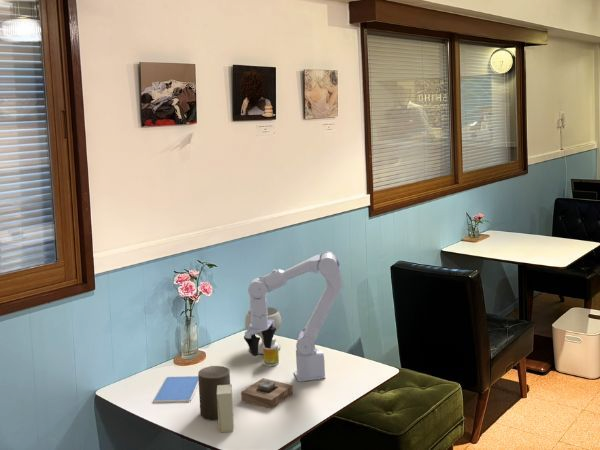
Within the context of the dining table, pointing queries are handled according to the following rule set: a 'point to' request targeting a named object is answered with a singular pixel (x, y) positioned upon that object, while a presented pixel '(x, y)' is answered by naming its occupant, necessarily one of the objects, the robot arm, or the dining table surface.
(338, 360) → the dining table surface
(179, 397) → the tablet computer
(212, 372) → the pillar candle
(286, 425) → the dining table surface
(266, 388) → the peg
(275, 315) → the chalice
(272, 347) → the supplement bottle
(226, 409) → the skincare box
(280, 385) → the holder
